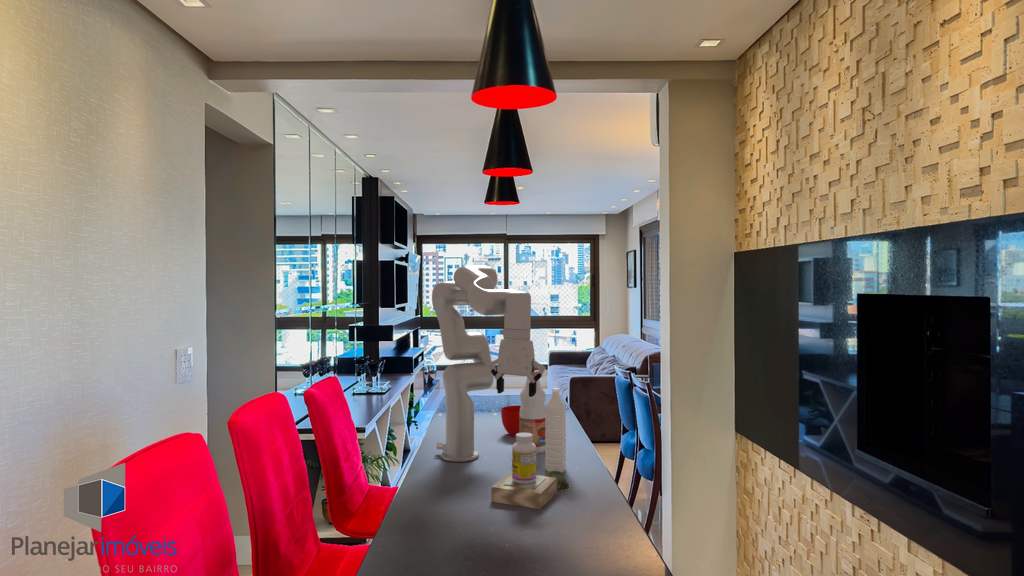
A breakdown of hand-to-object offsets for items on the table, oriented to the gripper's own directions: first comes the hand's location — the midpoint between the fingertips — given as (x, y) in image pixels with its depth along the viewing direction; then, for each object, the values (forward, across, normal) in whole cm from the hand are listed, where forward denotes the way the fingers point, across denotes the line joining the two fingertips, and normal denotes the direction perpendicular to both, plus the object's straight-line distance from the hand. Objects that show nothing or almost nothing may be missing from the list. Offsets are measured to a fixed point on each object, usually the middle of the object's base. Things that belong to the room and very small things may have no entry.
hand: (516, 394), depth 173 cm
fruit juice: (+28, -9, +39) cm, 49 cm away
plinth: (+27, +5, -5) cm, 28 cm away
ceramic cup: (+29, -22, +60) cm, 70 cm away
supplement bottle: (+23, +5, -5) cm, 24 cm away
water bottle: (+28, +5, +22) cm, 36 cm away
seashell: (+28, +10, +7) cm, 30 cm away
